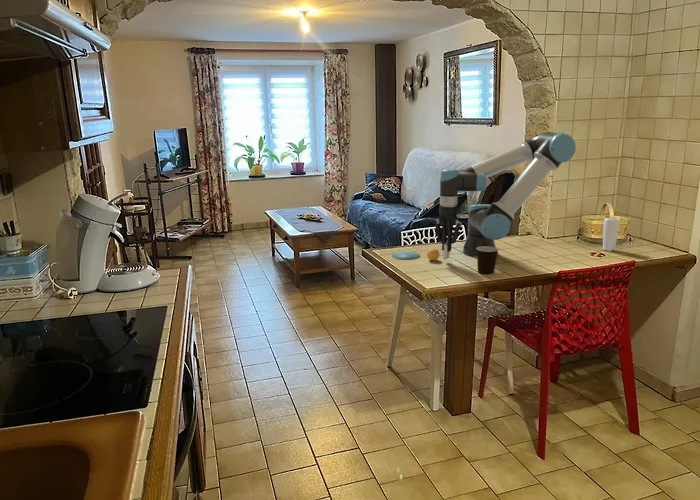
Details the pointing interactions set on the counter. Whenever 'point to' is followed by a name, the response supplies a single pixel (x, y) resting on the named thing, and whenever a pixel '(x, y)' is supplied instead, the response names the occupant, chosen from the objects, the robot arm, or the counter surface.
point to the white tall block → (610, 233)
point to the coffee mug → (486, 259)
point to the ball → (433, 254)
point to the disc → (406, 255)
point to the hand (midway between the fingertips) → (446, 258)
